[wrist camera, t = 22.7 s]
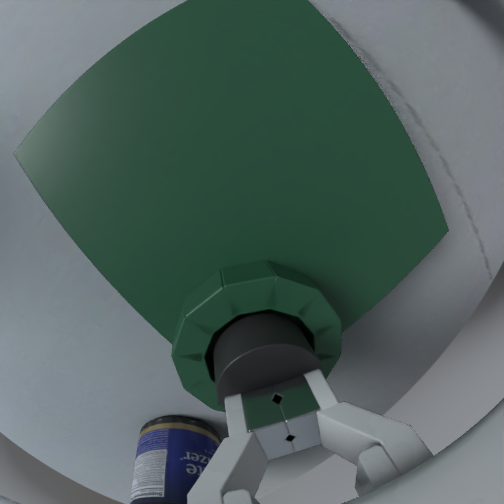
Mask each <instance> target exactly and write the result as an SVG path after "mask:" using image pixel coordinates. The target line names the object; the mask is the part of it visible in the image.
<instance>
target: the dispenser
mask: <svg viewBox="0 0 504 504" xmlns="http://www.w3.org/2000/svg"><path fill="white" fill-rule="evenodd" d="M14 155H15V157H16V159H17V160H18V162H19V164H20V165H21V167H22V169H23V170H24V172H25V173H26V175H27V177H28V178H29V180H30V181H31V183H32V184H33V186H34V187H35V189H36V190H37V192H38V193H39V195H40V196H41V198H42V199H43V201H44V202H45V203H46V205H47V206H48V208H49V209H50V210H51V212H52V213H53V215H54V216H55V217H56V219H57V220H58V221H59V223H60V224H61V225H62V227H63V228H64V229H65V230H66V232H67V233H68V234H69V236H70V237H71V238H72V239H73V241H74V242H75V243H76V244H77V246H78V247H79V248H80V249H81V250H82V252H83V253H84V254H85V255H86V256H87V258H88V259H89V260H90V261H91V262H92V263H93V265H94V266H95V267H96V268H97V269H98V270H99V271H100V273H101V274H102V275H103V276H104V277H105V278H106V279H107V280H108V281H109V283H110V284H111V285H112V286H113V287H114V288H115V289H116V290H117V291H118V292H119V293H120V294H121V295H122V296H123V297H124V298H125V300H126V301H127V302H128V303H129V304H130V305H131V306H132V307H133V308H134V309H135V310H136V311H137V312H138V313H139V314H140V315H141V316H142V317H143V318H144V319H145V320H147V321H148V322H149V323H150V324H151V325H152V326H153V327H154V328H155V329H156V330H157V331H158V332H159V333H160V334H161V335H162V336H164V337H165V338H166V339H167V340H168V341H169V342H170V343H171V344H172V345H173V347H172V359H173V362H174V364H175V367H176V370H177V372H178V375H179V378H180V380H181V383H182V385H183V388H184V389H185V390H186V391H188V392H189V393H190V394H192V395H193V396H195V397H196V398H197V399H199V400H200V401H202V402H203V403H204V404H206V405H207V406H209V407H210V408H212V409H214V410H217V411H223V412H226V409H225V408H224V407H223V406H222V405H221V403H220V402H219V400H218V398H217V394H216V384H215V372H214V359H213V352H214V347H215V344H216V342H217V340H218V338H219V337H220V335H221V334H222V333H223V332H224V330H225V329H226V328H228V327H229V326H230V325H231V324H233V323H234V322H236V321H238V320H240V319H242V318H245V317H247V316H251V315H255V314H275V315H280V316H283V317H285V318H287V319H289V320H291V321H292V322H294V323H295V324H296V325H297V326H298V327H299V328H300V330H301V331H302V333H303V334H304V336H305V338H306V339H307V341H308V343H309V344H310V346H311V348H312V349H313V351H314V353H315V354H316V356H317V358H318V359H319V361H320V363H321V366H322V372H323V375H324V377H325V379H326V378H327V376H328V375H329V373H330V372H331V370H332V369H333V367H334V365H335V364H336V362H337V361H338V359H339V357H340V354H341V333H342V332H343V331H344V330H346V329H347V328H348V327H349V326H351V325H352V324H353V323H354V322H355V321H357V320H358V319H359V318H360V317H361V316H362V315H364V314H365V313H366V312H367V311H368V310H369V309H371V308H372V307H373V306H374V305H375V304H376V303H377V302H378V301H380V300H381V299H382V298H383V297H384V296H385V295H386V294H387V293H388V292H389V291H391V290H392V289H393V288H394V287H395V286H396V285H397V284H398V283H399V282H400V281H401V280H402V279H403V278H404V277H405V276H406V275H407V274H408V273H409V272H410V271H411V270H412V269H413V268H414V267H415V266H416V265H417V264H418V263H419V262H420V261H421V260H422V259H423V258H424V257H425V256H426V255H427V254H428V253H429V252H430V251H431V250H432V249H433V248H434V246H435V245H436V244H437V243H438V242H439V241H440V240H441V239H442V238H443V237H444V235H445V234H446V233H447V232H448V231H449V229H448V226H447V224H446V221H445V218H444V215H443V212H442V209H441V207H440V204H439V202H438V199H437V196H436V194H435V192H434V189H433V187H432V184H431V182H430V180H429V177H428V175H427V173H426V171H425V168H424V166H423V164H422V162H421V160H420V158H419V156H418V154H417V152H416V150H415V148H414V146H413V144H412V142H411V140H410V138H409V136H408V134H407V132H406V131H405V129H404V127H403V125H402V123H401V122H400V120H399V118H398V116H397V115H396V113H395V111H394V110H393V108H392V106H391V105H390V103H389V101H388V100H387V98H386V97H385V95H384V94H383V92H382V91H381V89H380V87H379V86H378V85H377V83H376V82H375V80H374V79H373V77H372V76H371V74H370V73H369V72H368V70H367V69H366V67H365V66H364V65H363V63H362V62H361V61H360V59H359V58H358V57H357V55H356V54H355V53H354V51H353V50H352V49H351V48H350V46H349V45H348V44H347V43H346V42H345V40H344V39H343V38H342V37H341V36H340V34H339V33H338V32H337V31H336V30H335V29H334V27H333V26H332V25H331V24H330V23H329V22H328V21H327V20H326V19H325V18H324V16H323V15H322V14H321V13H320V12H319V11H318V10H317V9H316V8H315V7H314V6H313V5H312V4H311V3H310V2H309V1H308V0H187V1H185V2H184V3H182V4H180V5H178V6H176V7H175V8H173V9H171V10H169V11H168V12H166V13H164V14H163V15H161V16H159V17H158V18H156V19H154V20H153V21H151V22H150V23H148V24H147V25H145V26H144V27H142V28H141V29H139V30H138V31H136V32H135V33H134V34H132V35H131V36H129V37H128V38H127V39H125V40H124V41H122V42H121V43H120V44H119V45H117V46H116V47H115V48H113V49H112V50H111V51H110V52H108V53H107V54H106V55H105V56H103V57H102V58H101V59H100V60H99V61H97V62H96V63H95V64H94V65H93V66H92V67H91V68H89V69H88V70H87V71H86V72H85V73H84V74H83V75H82V76H81V77H80V78H79V79H78V80H76V81H75V82H74V83H73V84H72V85H71V86H70V87H69V88H68V89H67V90H66V91H65V92H64V93H63V94H62V96H61V97H60V98H59V99H58V100H57V101H56V102H55V103H54V104H53V105H52V106H51V107H50V108H49V110H48V111H47V112H46V113H45V114H44V115H43V117H42V118H41V119H40V120H39V121H38V122H37V124H36V125H35V126H34V127H33V129H32V130H31V131H30V132H29V134H28V135H27V136H26V138H25V139H24V140H23V142H22V143H21V144H20V146H19V147H18V148H17V150H16V151H15V153H14Z"/></svg>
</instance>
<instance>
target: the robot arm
mask: <svg viewBox="0 0 504 504" xmlns="http://www.w3.org/2000/svg"><path fill="white" fill-rule="evenodd" d="M225 409H226V417H227V425H228V433H229V437H227V438H224V439H223V441H222V443H221V444H220V446H219V447H218V449H217V451H216V452H215V454H214V455H213V457H212V458H211V460H210V462H209V463H208V465H207V466H206V468H205V469H204V471H203V472H202V474H201V475H200V477H199V478H198V480H197V481H196V483H195V484H194V486H193V487H192V489H191V490H190V492H189V493H188V494H187V504H260V503H259V502H258V501H257V500H256V499H255V498H254V497H255V494H256V492H257V490H258V487H259V485H260V482H261V480H262V478H263V475H264V473H265V470H266V467H267V465H268V462H269V461H268V460H271V459H275V458H278V457H281V456H285V455H288V454H291V453H294V451H295V452H297V451H301V450H304V449H307V448H310V447H314V446H317V445H320V444H321V445H322V446H324V447H326V448H327V449H329V450H330V451H332V452H334V453H335V454H337V455H339V456H341V457H342V458H344V459H346V460H348V461H349V462H351V463H353V464H355V465H356V466H357V474H356V482H355V489H356V491H357V493H358V495H359V497H357V498H355V499H352V500H350V501H348V502H345V503H342V504H504V398H503V399H502V400H501V401H500V402H499V403H498V404H497V405H496V406H495V407H494V408H493V409H492V410H491V411H490V412H489V413H488V414H487V415H486V416H485V417H483V418H482V419H481V420H480V421H479V422H478V423H477V424H475V425H474V426H473V427H472V428H471V429H470V430H468V431H467V432H466V433H464V434H463V435H462V436H461V437H459V438H458V439H457V440H456V441H454V442H453V443H452V444H450V445H449V446H447V447H446V448H445V449H443V450H442V451H440V452H439V453H438V454H436V455H434V456H433V454H432V453H431V452H430V450H429V449H428V448H427V446H426V445H425V444H424V442H423V441H422V440H421V438H420V437H419V436H418V434H417V433H416V432H415V431H414V429H413V428H412V427H411V425H408V424H405V423H402V422H399V421H396V420H393V419H390V418H387V417H384V416H382V415H379V414H376V413H374V412H371V411H368V410H366V409H363V408H360V407H358V406H355V405H353V404H350V403H348V402H345V401H343V402H341V403H339V401H338V399H337V397H336V396H335V394H334V392H333V391H332V389H331V387H330V385H329V384H328V382H327V380H326V379H325V377H324V375H323V374H322V372H321V370H319V369H316V370H313V371H311V372H308V373H305V374H303V375H300V376H297V377H294V378H291V379H288V380H285V381H282V382H279V383H276V384H273V385H270V386H266V387H263V388H259V389H255V390H251V391H247V392H243V393H240V394H236V395H231V396H226V397H225ZM0 504H19V503H17V502H15V501H12V500H10V499H8V498H6V497H4V496H2V495H0Z"/></svg>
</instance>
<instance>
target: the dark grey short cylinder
mask: <svg viewBox="0 0 504 504" xmlns="http://www.w3.org/2000/svg"><path fill="white" fill-rule="evenodd" d="M213 359H214V372H215V384H216V394H217V398H218V400H219V402H220V403H221V405H222V406H223V407H224V408H225V397H226V396H231V395H236V394H240V393H243V392H247V391H251V390H255V389H259V388H263V387H266V386H270V385H273V384H276V383H279V382H282V381H285V380H288V379H291V378H294V377H297V376H300V375H303V374H305V373H308V372H311V371H313V370H316V369H319V370H321V372H322V366H321V363H320V361H319V359H318V358H317V356H316V354H315V353H314V351H313V349H312V348H311V346H310V344H309V343H308V341H307V339H306V338H305V336H304V334H303V333H302V331H301V330H300V328H299V327H298V326H297V325H296V324H295V323H294V322H292V321H291V320H289V319H287V318H285V317H283V316H280V315H275V314H255V315H251V316H247V317H245V318H242V319H240V320H238V321H236V322H234V323H233V324H231V325H230V326H229V327H228V328H226V329H225V330H224V332H223V333H222V334H221V335H220V337H219V338H218V340H217V342H216V344H215V347H214V352H213ZM322 374H323V372H322Z"/></svg>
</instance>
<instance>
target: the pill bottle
mask: <svg viewBox="0 0 504 504" xmlns="http://www.w3.org/2000/svg"><path fill="white" fill-rule="evenodd" d="M220 444H221V441H220V438H219V436H218V434H217V433H216V432H215V431H214V430H213V429H212V428H211V427H209V426H208V425H207V424H205V423H203V422H200V421H197V420H195V419H190V418H183V417H180V416H166V417H159V418H156V419H154V420H151V421H149V422H148V423H146V424H145V425H144V426H143V427H142V429H141V432H140V437H139V442H138V448H137V455H136V461H135V468H134V475H133V483H132V491H131V501H130V504H187V494H188V493H189V492H190V490H191V489H192V487H193V486H194V484H195V483H196V481H197V480H198V478H199V477H200V475H201V474H202V472H203V471H204V469H205V468H206V466H207V465H208V463H209V462H210V460H211V458H212V457H213V455H214V454H215V452H216V451H217V449H218V447H219V446H220Z"/></svg>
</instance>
